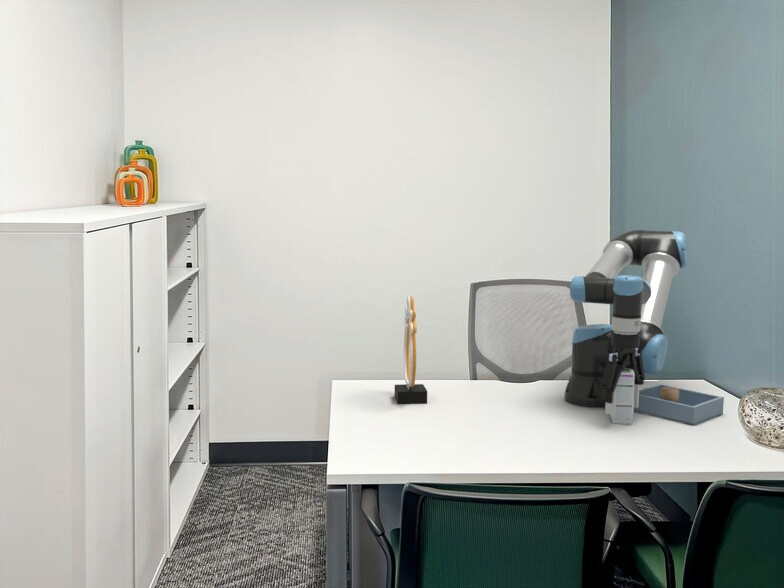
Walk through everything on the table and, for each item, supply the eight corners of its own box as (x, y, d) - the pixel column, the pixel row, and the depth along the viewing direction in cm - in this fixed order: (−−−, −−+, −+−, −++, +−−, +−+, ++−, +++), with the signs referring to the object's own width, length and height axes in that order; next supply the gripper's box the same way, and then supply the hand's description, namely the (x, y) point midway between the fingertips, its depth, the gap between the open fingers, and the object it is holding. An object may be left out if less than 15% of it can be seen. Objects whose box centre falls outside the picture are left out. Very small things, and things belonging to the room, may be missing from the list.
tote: (628, 409, 226) (629, 392, 225) (659, 399, 237) (660, 383, 236) (693, 425, 211) (694, 407, 210) (722, 414, 222) (723, 397, 221)
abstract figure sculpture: (429, 407, 226) (430, 300, 222) (399, 407, 225) (400, 300, 221) (421, 392, 243) (422, 292, 238) (393, 393, 242) (394, 292, 238)
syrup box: (633, 424, 211) (636, 372, 209) (611, 423, 212) (613, 371, 210) (631, 418, 217) (634, 368, 215) (609, 417, 218) (612, 366, 216)
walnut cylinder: (655, 412, 221) (657, 388, 220) (665, 409, 224) (666, 385, 223) (671, 416, 217) (673, 392, 216) (681, 413, 221) (682, 389, 220)
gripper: (613, 339, 201) (609, 421, 204) (660, 329, 216) (656, 405, 219) (589, 335, 206) (585, 414, 209) (636, 325, 222) (632, 400, 224)
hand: (621, 410), depth 214 cm, fingers open, 11 cm apart
